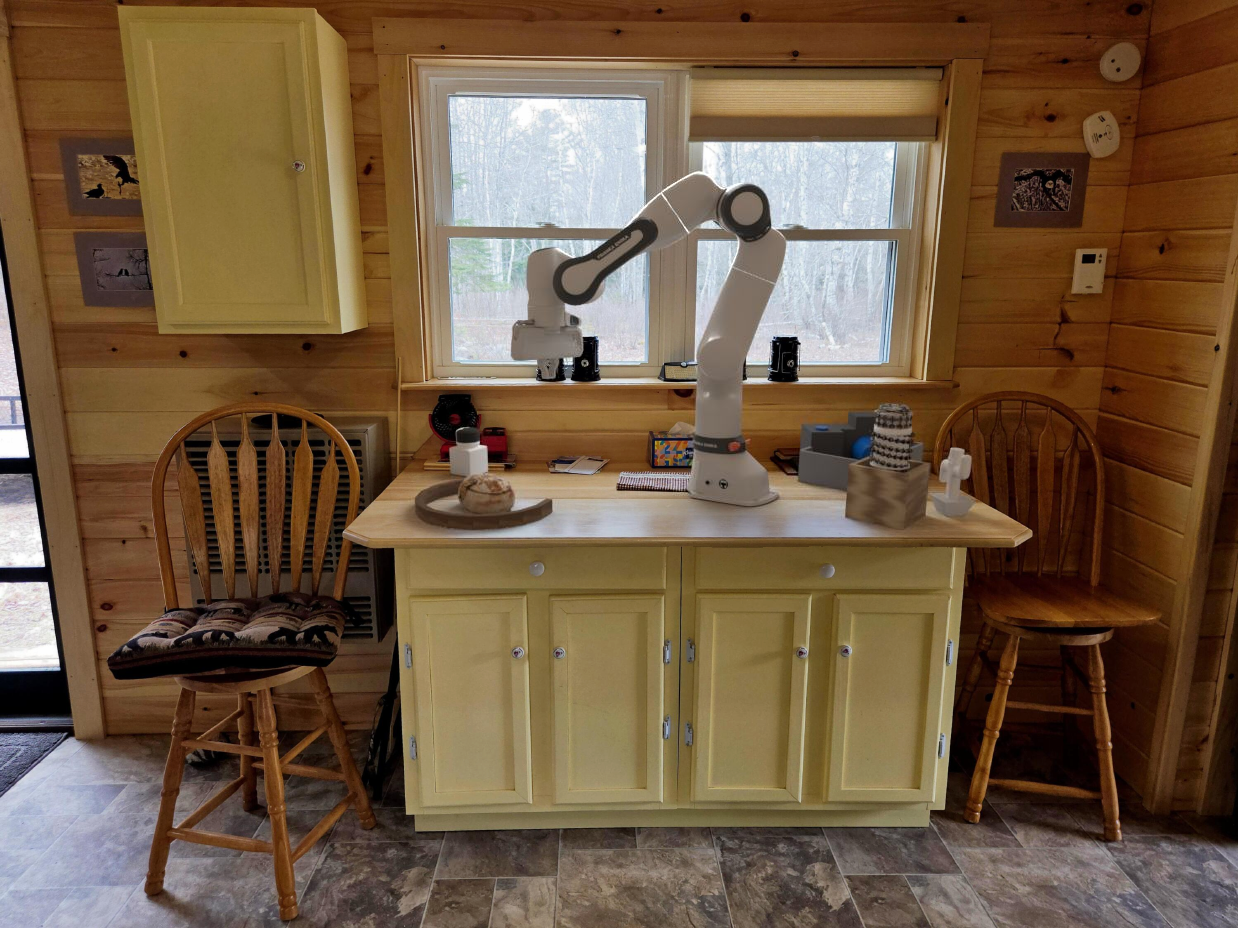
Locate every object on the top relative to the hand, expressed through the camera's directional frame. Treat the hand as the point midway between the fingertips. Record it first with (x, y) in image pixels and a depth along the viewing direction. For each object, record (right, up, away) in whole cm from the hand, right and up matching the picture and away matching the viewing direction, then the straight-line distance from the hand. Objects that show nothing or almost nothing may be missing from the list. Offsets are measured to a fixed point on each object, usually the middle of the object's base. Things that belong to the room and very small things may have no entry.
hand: (548, 378), depth 195 cm
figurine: (+91, -32, -10) cm, 97 cm away
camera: (+79, -24, +23) cm, 85 cm away
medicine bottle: (-23, -23, +22) cm, 39 cm away
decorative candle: (+76, -32, -12) cm, 83 cm away
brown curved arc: (-16, -31, -10) cm, 37 cm away
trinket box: (-13, -31, -8) cm, 34 cm away
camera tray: (+80, -24, +20) cm, 86 cm away
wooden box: (+76, -32, -12) cm, 83 cm away
